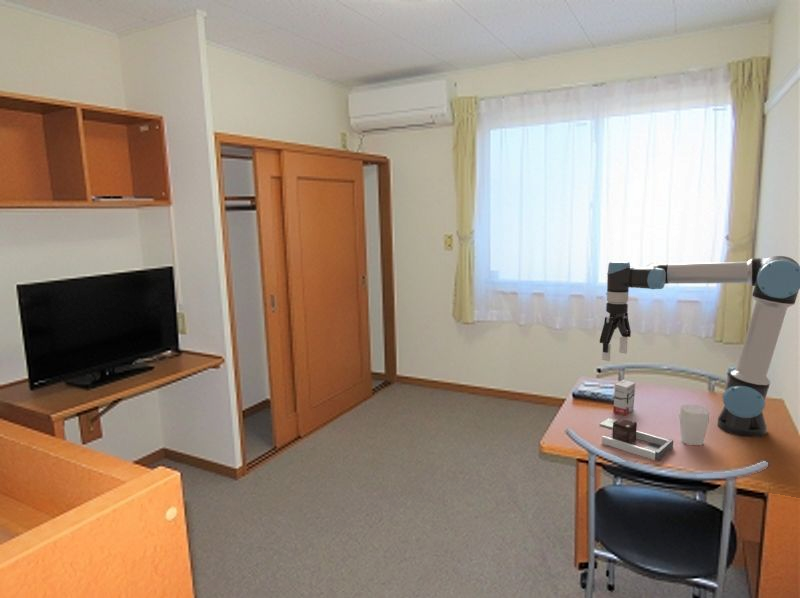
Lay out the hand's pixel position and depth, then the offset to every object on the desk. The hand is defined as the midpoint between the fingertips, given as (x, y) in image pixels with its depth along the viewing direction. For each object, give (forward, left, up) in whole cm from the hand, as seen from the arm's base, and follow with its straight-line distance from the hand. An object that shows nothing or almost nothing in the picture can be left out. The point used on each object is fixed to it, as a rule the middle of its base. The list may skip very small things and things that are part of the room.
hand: (614, 356), depth 204 cm
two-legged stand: (-17, +18, -25) cm, 35 cm away
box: (-13, +18, -25) cm, 33 cm away
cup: (-30, +2, -25) cm, 39 cm away
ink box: (-1, -9, -25) cm, 26 cm away
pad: (-4, +7, -25) cm, 26 cm away
